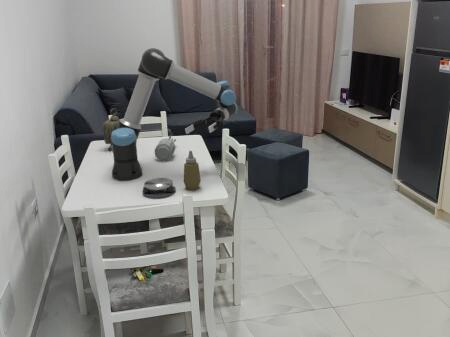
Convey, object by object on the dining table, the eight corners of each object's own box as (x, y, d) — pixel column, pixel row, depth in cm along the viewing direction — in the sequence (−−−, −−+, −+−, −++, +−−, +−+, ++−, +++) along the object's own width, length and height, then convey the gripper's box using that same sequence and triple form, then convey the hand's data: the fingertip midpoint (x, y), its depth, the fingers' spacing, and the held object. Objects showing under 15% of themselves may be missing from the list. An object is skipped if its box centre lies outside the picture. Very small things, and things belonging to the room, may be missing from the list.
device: (172, 161, 240) (171, 144, 237) (154, 161, 240) (153, 144, 237) (179, 146, 269) (178, 130, 266) (163, 146, 269) (162, 131, 266)
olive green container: (117, 144, 275) (113, 105, 267) (130, 145, 272) (126, 106, 264) (105, 151, 262) (100, 110, 254) (118, 152, 259) (113, 111, 251)
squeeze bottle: (189, 192, 197) (187, 154, 191) (180, 187, 203) (178, 150, 197) (204, 188, 201) (202, 151, 195) (195, 183, 207) (193, 147, 201)
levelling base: (140, 199, 191) (139, 189, 189) (145, 186, 205) (144, 177, 203) (174, 197, 191) (173, 188, 190) (177, 185, 205) (176, 176, 204)
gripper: (241, 121, 218) (221, 136, 202) (200, 124, 231) (178, 139, 215) (238, 107, 216) (217, 121, 199) (197, 111, 229) (174, 124, 212)
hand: (197, 130), depth 207 cm, fingers open, 13 cm apart
